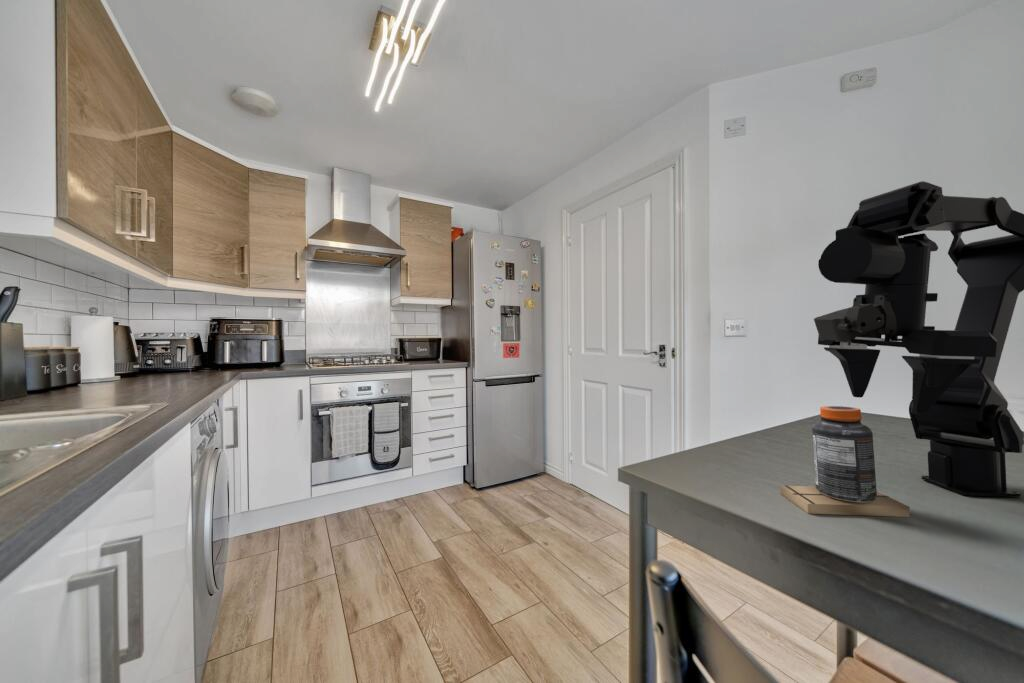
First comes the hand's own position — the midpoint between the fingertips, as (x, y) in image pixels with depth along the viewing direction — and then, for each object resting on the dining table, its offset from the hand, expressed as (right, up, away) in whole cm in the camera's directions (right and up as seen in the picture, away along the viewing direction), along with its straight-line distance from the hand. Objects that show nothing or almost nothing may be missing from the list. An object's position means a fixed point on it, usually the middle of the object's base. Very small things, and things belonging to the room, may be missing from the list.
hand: (885, 404), depth 50 cm
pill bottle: (-7, -12, -1) cm, 14 cm away
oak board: (-7, -13, -1) cm, 15 cm away
